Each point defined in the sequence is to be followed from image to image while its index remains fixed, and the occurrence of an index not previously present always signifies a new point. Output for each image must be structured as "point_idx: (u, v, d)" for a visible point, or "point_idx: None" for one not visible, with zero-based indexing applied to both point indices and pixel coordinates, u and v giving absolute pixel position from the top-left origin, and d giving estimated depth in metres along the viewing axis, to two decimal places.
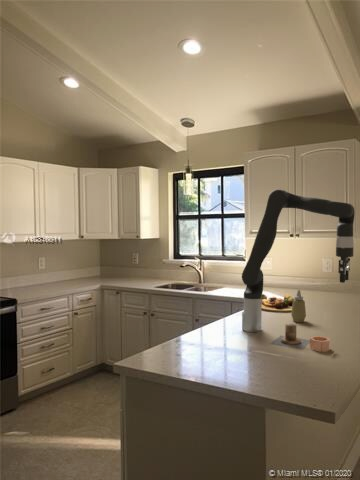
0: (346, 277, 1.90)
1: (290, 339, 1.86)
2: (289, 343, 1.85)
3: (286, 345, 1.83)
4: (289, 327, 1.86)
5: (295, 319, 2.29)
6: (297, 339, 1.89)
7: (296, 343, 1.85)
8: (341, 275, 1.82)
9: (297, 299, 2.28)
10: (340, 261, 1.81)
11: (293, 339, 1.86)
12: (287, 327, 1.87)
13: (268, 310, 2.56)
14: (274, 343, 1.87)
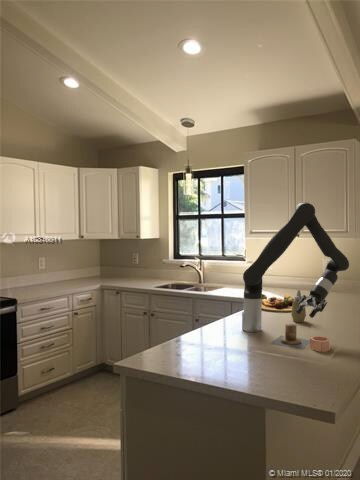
0: (299, 311, 1.96)
1: (290, 339, 1.86)
2: (289, 343, 1.85)
3: (286, 345, 1.83)
4: (289, 327, 1.86)
5: (295, 319, 2.29)
6: (297, 339, 1.89)
7: (296, 343, 1.85)
8: (315, 311, 1.88)
9: (297, 299, 2.28)
10: (325, 301, 1.89)
11: (293, 339, 1.86)
12: (287, 327, 1.87)
13: (268, 310, 2.56)
14: (274, 343, 1.87)
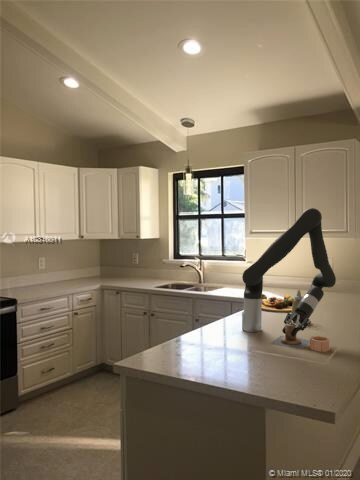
0: None
1: (290, 339, 1.86)
2: (289, 343, 1.85)
3: (286, 345, 1.83)
4: (289, 327, 1.86)
5: None
6: (297, 339, 1.89)
7: (296, 343, 1.85)
8: (297, 330, 1.85)
9: (297, 299, 2.28)
10: (308, 320, 1.85)
11: (293, 339, 1.86)
12: (287, 327, 1.87)
13: (268, 310, 2.56)
14: (274, 343, 1.87)
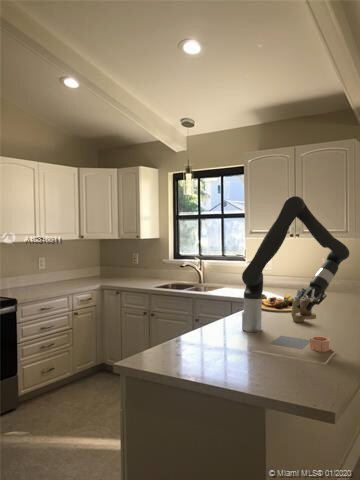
0: None
1: (305, 314, 1.81)
2: (304, 318, 1.79)
3: (286, 345, 1.83)
4: (304, 301, 1.81)
5: (295, 319, 2.29)
6: (312, 314, 1.83)
7: (312, 318, 1.79)
8: (312, 304, 1.80)
9: (297, 299, 2.28)
10: (324, 294, 1.79)
11: (309, 313, 1.81)
12: (302, 302, 1.82)
13: (268, 310, 2.56)
14: (274, 343, 1.87)
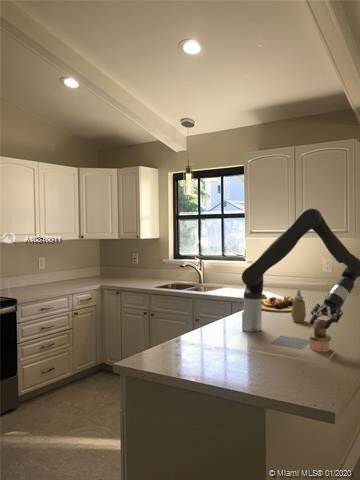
0: (313, 322, 1.82)
1: (320, 335, 1.76)
2: (319, 340, 1.75)
3: (286, 345, 1.83)
4: (319, 323, 1.76)
5: (295, 319, 2.29)
6: (327, 336, 1.79)
7: (326, 340, 1.74)
8: (330, 322, 1.74)
9: (297, 299, 2.28)
10: (341, 311, 1.74)
11: (323, 335, 1.76)
12: (317, 323, 1.77)
13: (268, 310, 2.56)
14: (274, 343, 1.87)
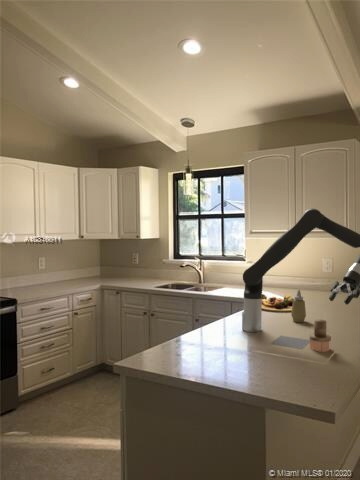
0: (332, 298, 1.87)
1: (320, 335, 1.76)
2: (319, 340, 1.75)
3: (286, 345, 1.83)
4: (319, 323, 1.76)
5: (295, 319, 2.29)
6: (327, 336, 1.79)
7: (326, 340, 1.74)
8: (351, 297, 1.79)
9: (297, 299, 2.28)
10: None
11: (323, 335, 1.76)
12: (317, 323, 1.77)
13: (268, 310, 2.56)
14: (274, 343, 1.87)
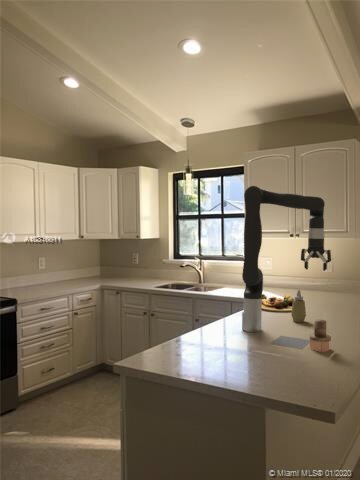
0: (307, 266, 2.03)
1: (320, 335, 1.76)
2: (319, 340, 1.75)
3: (286, 345, 1.83)
4: (319, 323, 1.76)
5: (295, 319, 2.29)
6: (327, 336, 1.79)
7: (326, 340, 1.74)
8: (326, 264, 1.98)
9: (297, 299, 2.28)
10: (329, 251, 1.97)
11: (323, 335, 1.76)
12: (317, 323, 1.77)
13: (268, 310, 2.56)
14: (274, 343, 1.87)
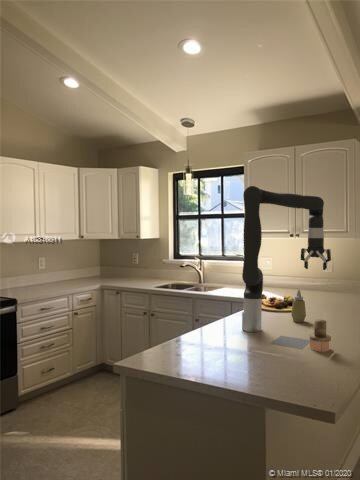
0: (307, 266, 2.03)
1: (320, 335, 1.76)
2: (319, 340, 1.75)
3: (286, 345, 1.83)
4: (319, 323, 1.76)
5: (295, 319, 2.29)
6: (327, 336, 1.79)
7: (326, 340, 1.74)
8: (326, 263, 1.98)
9: (297, 299, 2.28)
10: (329, 250, 1.97)
11: (323, 335, 1.76)
12: (317, 323, 1.77)
13: (267, 310, 2.56)
14: (274, 343, 1.87)
